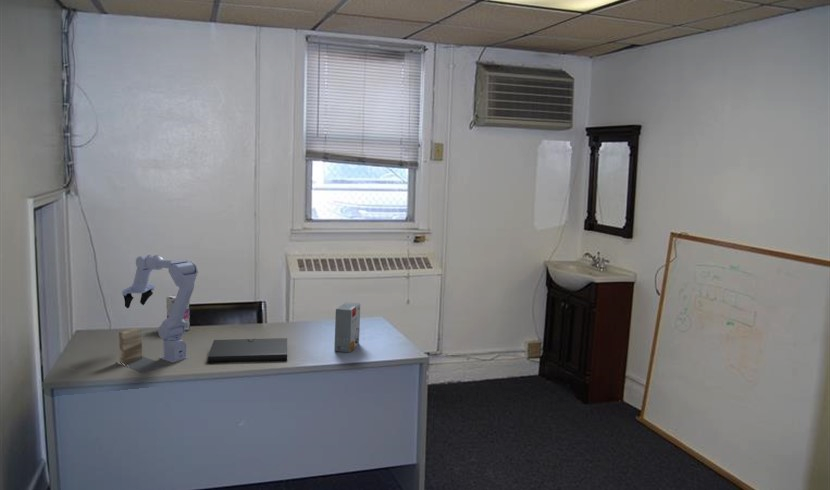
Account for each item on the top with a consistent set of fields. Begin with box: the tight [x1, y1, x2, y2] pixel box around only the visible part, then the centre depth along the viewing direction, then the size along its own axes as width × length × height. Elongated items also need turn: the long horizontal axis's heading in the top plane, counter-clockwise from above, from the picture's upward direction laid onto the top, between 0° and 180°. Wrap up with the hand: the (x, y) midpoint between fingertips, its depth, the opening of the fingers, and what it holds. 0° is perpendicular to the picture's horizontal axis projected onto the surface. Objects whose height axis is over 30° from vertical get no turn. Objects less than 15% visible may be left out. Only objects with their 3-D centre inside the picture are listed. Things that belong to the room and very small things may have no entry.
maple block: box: [118, 327, 143, 364], centre depth 276 cm, size 4×8×13 cm, turn 147°
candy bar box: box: [166, 294, 191, 332], centre depth 325 cm, size 11×5×16 cm, turn 62°
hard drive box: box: [333, 301, 361, 353], centre depth 305 cm, size 16×8×20 cm, turn 168°
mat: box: [120, 355, 169, 374], centre depth 274 cm, size 20×12×1 cm, turn 57°
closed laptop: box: [207, 337, 288, 364], centre depth 292 cm, size 33×4×24 cm
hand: (134, 305), depth 294 cm, fingers open, 7 cm apart
